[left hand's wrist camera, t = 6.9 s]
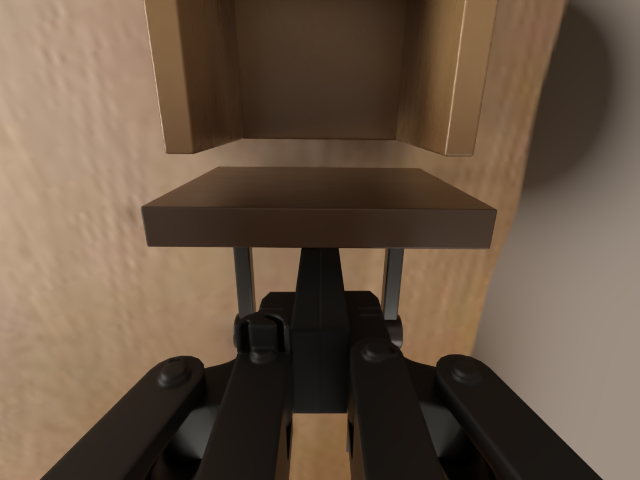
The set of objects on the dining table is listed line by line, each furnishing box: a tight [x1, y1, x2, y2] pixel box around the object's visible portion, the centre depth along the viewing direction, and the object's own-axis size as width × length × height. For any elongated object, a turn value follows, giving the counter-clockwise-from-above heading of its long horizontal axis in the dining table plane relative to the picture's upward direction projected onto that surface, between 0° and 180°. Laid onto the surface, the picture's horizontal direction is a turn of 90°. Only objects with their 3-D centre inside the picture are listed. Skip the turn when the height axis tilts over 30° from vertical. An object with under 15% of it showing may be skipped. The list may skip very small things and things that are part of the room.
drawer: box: [141, 0, 498, 349], centre depth 11 cm, size 23×10×8 cm, turn 179°
